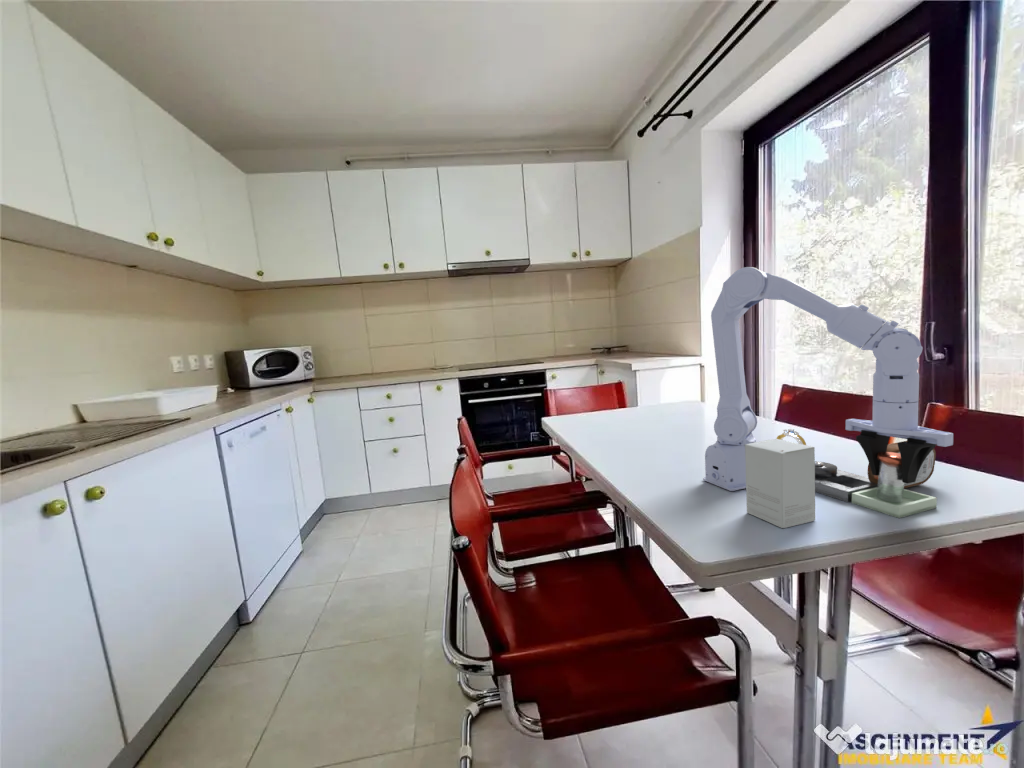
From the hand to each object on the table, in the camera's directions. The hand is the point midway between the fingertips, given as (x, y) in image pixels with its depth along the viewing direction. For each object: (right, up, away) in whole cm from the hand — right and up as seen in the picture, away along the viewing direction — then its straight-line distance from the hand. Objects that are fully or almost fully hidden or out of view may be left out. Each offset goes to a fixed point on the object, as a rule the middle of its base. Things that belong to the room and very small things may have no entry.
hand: (893, 478), depth 72 cm
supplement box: (-20, -7, -1) cm, 21 cm away
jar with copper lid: (0, -4, +1) cm, 4 cm away
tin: (+8, -3, +7) cm, 11 cm away
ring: (0, -3, +26) cm, 26 cm away
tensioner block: (-3, -4, +10) cm, 11 cm away
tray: (0, -5, 0) cm, 5 cm away
